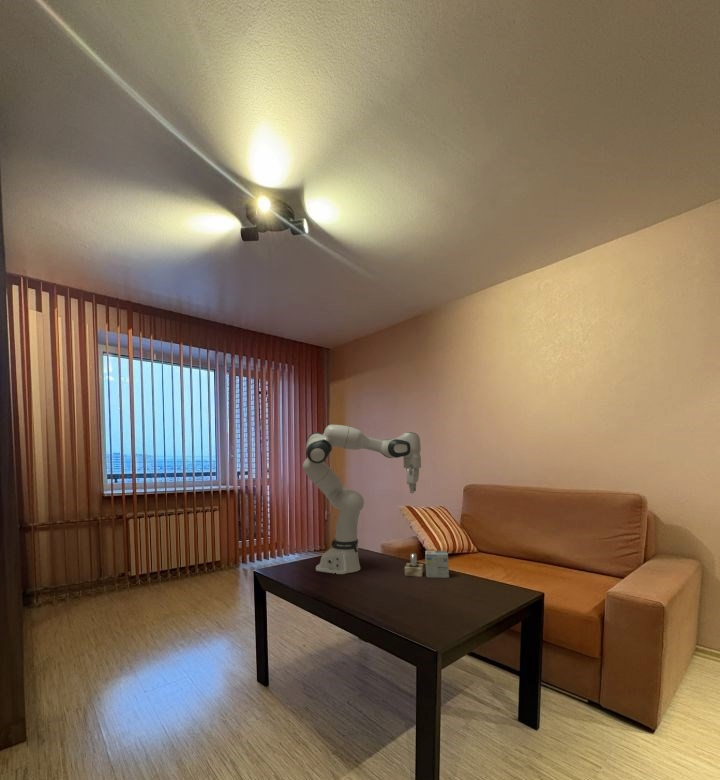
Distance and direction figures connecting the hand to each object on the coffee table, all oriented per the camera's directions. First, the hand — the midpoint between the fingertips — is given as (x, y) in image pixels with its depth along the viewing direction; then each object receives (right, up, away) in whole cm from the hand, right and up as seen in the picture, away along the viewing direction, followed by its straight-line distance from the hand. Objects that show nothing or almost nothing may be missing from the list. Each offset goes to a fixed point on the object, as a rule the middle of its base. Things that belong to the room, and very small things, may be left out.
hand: (412, 492), depth 203 cm
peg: (-1, -37, -8) cm, 38 cm away
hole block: (-1, -37, -8) cm, 38 cm away
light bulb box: (+10, -37, -12) cm, 40 cm away
